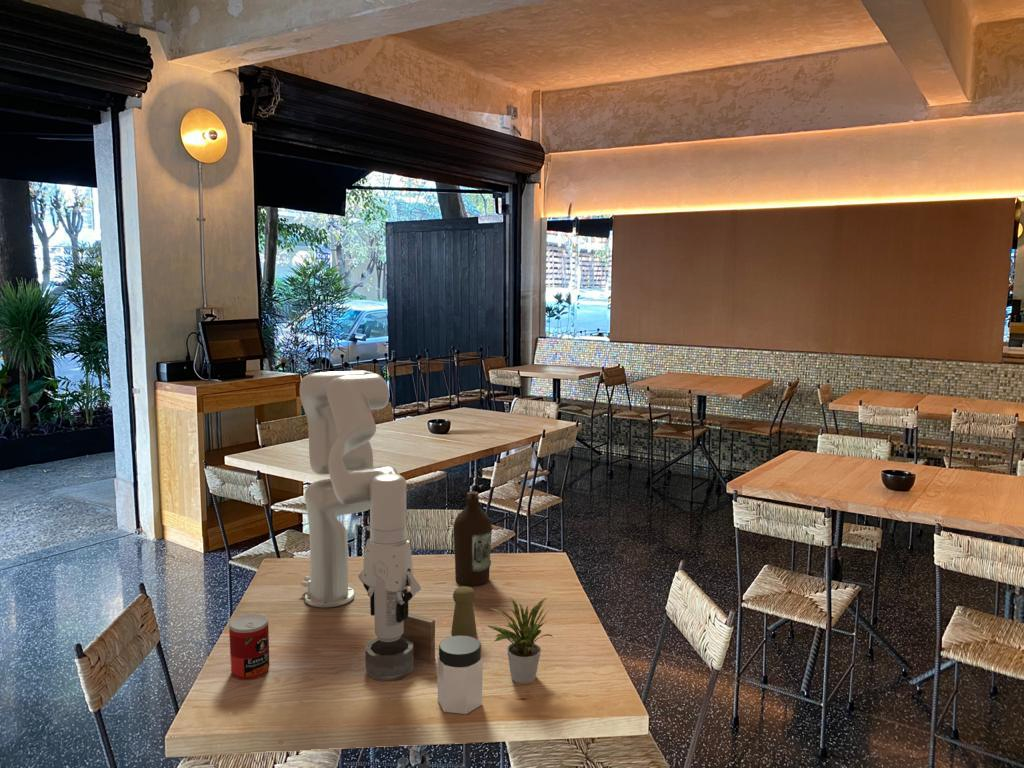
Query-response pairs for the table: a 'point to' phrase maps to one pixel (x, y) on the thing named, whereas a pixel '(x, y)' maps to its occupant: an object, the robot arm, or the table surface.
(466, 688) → the jar
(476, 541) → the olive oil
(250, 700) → the table surface
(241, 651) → the canned food
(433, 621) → the cup bracket
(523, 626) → the house plant
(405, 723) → the table surface
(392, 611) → the energy drink can
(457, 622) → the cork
